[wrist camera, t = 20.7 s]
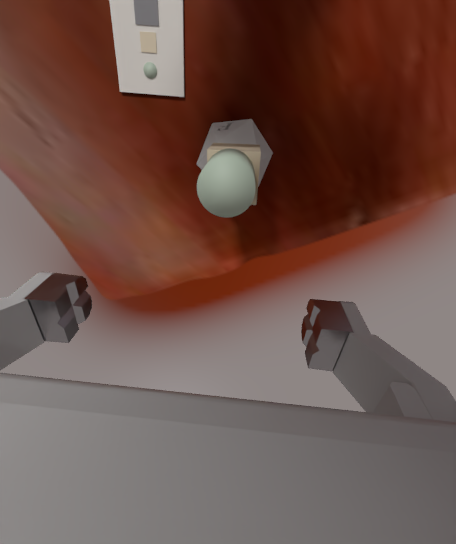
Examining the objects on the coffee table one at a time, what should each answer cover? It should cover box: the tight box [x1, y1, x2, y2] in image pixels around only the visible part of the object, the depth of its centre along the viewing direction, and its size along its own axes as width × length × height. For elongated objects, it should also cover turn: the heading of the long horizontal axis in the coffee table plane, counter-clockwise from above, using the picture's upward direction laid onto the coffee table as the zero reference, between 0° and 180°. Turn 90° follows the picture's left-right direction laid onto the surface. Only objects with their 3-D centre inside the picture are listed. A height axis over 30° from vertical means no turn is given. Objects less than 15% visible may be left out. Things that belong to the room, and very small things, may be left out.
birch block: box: [207, 143, 261, 205], centre depth 29 cm, size 5×5×5 cm
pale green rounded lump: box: [197, 148, 255, 217], centre depth 25 cm, size 5×5×5 cm
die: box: [197, 119, 273, 187], centre depth 34 cm, size 8×9×10 cm
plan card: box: [109, 0, 184, 97], centre depth 32 cm, size 10×8×1 cm
